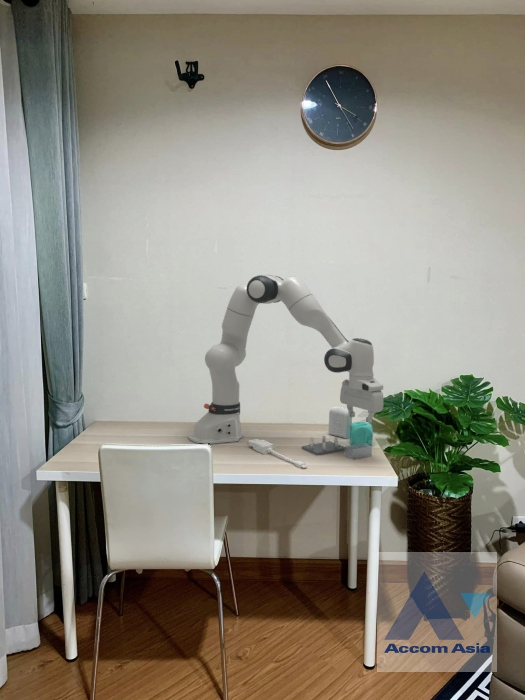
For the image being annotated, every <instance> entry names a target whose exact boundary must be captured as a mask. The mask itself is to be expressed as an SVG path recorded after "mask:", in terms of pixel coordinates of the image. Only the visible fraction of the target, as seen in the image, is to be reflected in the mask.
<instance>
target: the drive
mask: <svg viewBox="0 0 525 700" xmlns="http://www.w3.org/2000/svg"><path fill="white" fill-rule="evenodd" d="M344 447H345V450H344V457H346V458H349V459H351V460H358V459H363V458H368V457H372V454H373V452H372V451H373V445H371V444H370V445H367V444H365V443H360V444H354V445H352V444H351V445H350V444H349V445H345V446H344Z"/></svg>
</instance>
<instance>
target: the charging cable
mask: <svg viewBox="0 0 525 700" xmlns="http://www.w3.org/2000/svg"><path fill="white" fill-rule="evenodd" d="M247 445H248V446H251V448H252V449H253V450H254V451H256V452H257V453H259V454H262V455H268V453H269V454H274V455H277V456H279V457H281V458H282V459H285V460H287V461H289V462H291V463H293V465H294V466H295V467H296V468H298V469H302V468H303V469H306V468H308V465H306V463H305V462H303V461H302V460H294V459H291V458H290V457H287V456H285V455H283V454H281V453H279V452H277V451H276V450H275V444H274V443H271V442H269V441H267V440H265V439H258V438H256V439H254V438H253V439H249V440H248V441H247Z"/></svg>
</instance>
